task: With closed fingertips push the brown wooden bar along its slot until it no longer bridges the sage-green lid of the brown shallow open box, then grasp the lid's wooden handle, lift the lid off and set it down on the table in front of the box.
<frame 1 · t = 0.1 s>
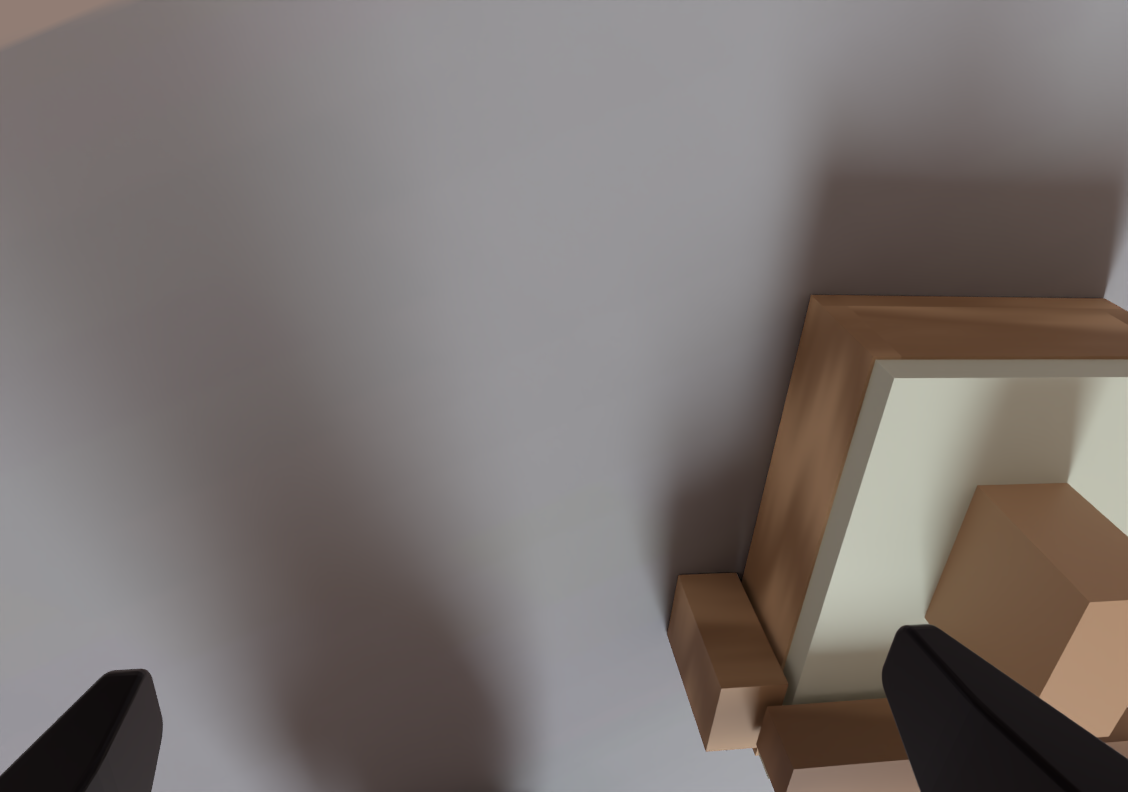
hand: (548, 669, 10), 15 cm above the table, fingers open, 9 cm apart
lid: (953, 580, 26), point 4 cm above the table, touching brown shallow open box
brown wooden bar: (952, 741, 26), point 6 cm above the table, slide at 0.0 cm
brown shallow open box: (892, 502, 29), on the table
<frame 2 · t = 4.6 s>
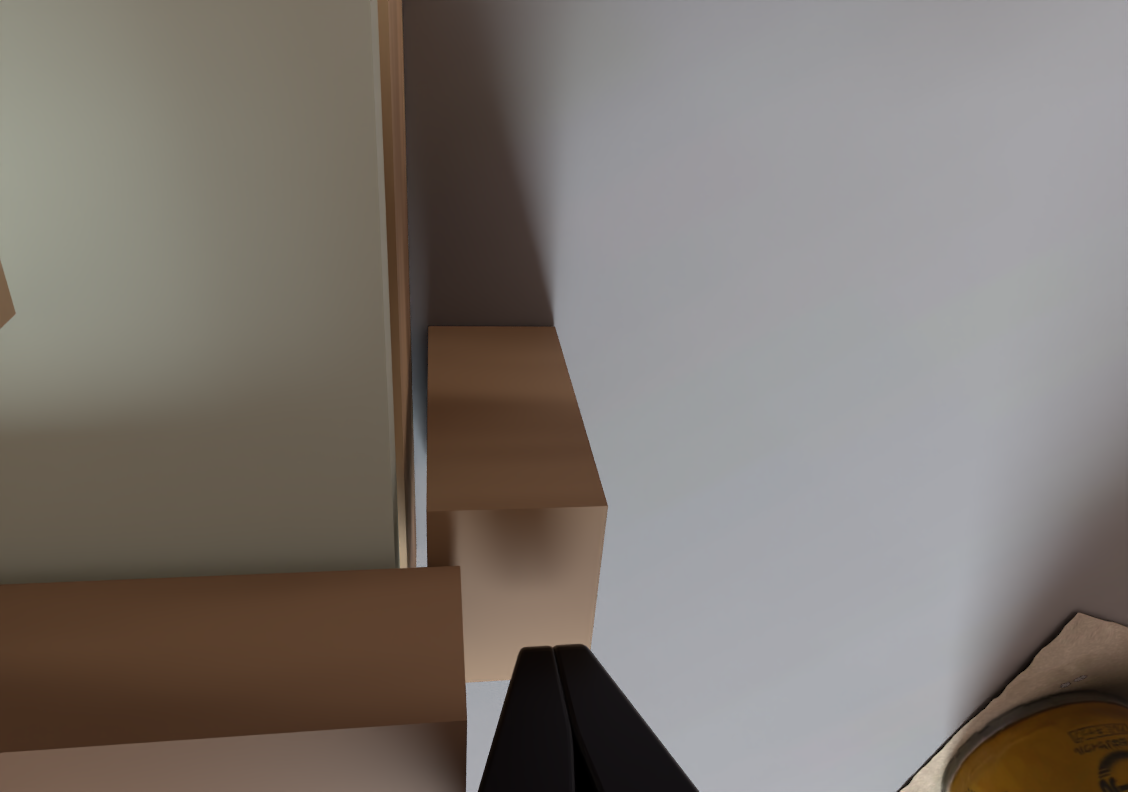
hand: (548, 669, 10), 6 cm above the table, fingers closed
condiment: (1056, 733, 24), on the table
brown shallow open box: (51, 135, 12), on the table
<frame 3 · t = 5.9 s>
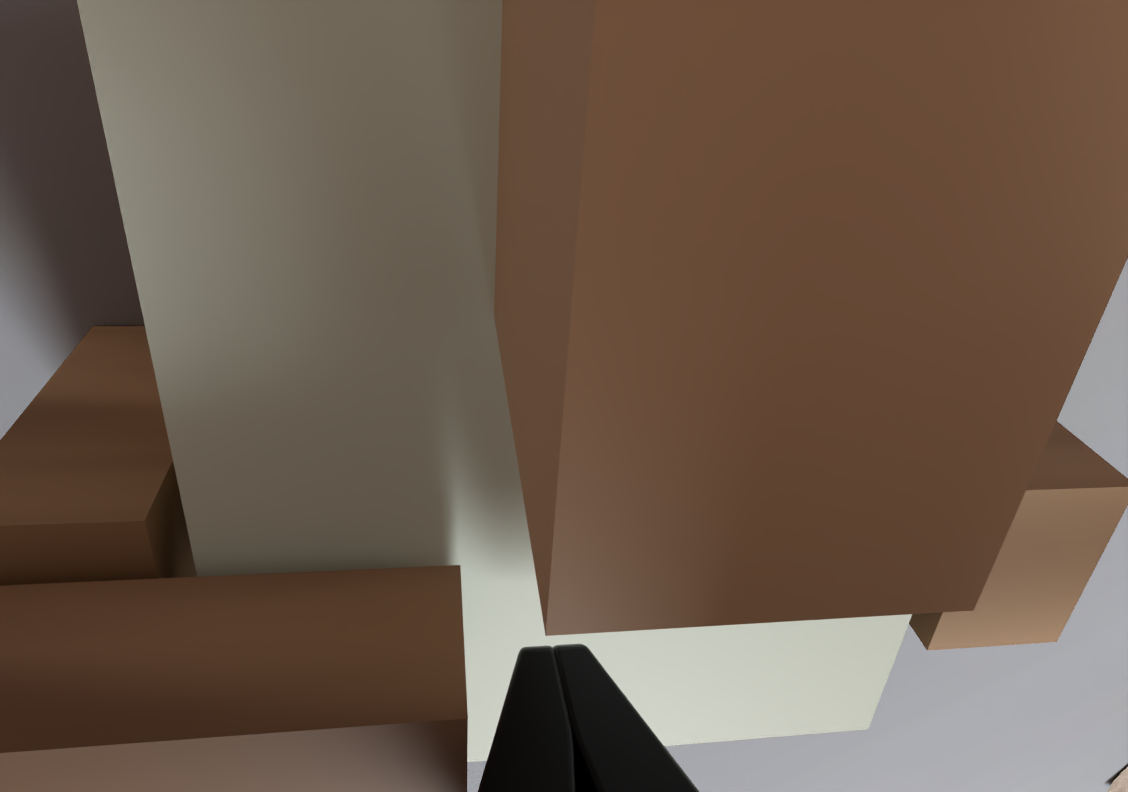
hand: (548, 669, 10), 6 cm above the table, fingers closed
lid: (609, 241, 10), point 4 cm above the table, touching brown shallow open box
brown shallow open box: (561, 154, 13), on the table
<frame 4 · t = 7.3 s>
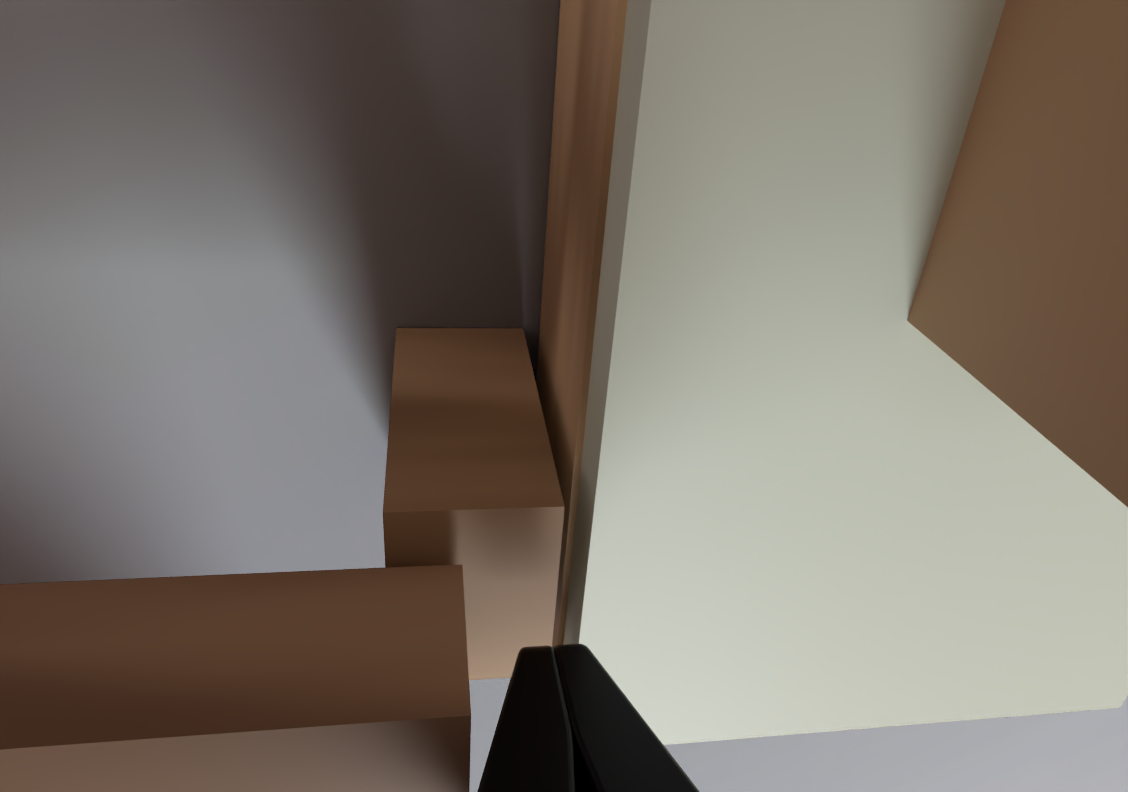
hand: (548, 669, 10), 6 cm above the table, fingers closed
lid: (979, 252, 10), point 4 cm above the table, touching brown shallow open box
brown shallow open box: (843, 168, 14), on the table
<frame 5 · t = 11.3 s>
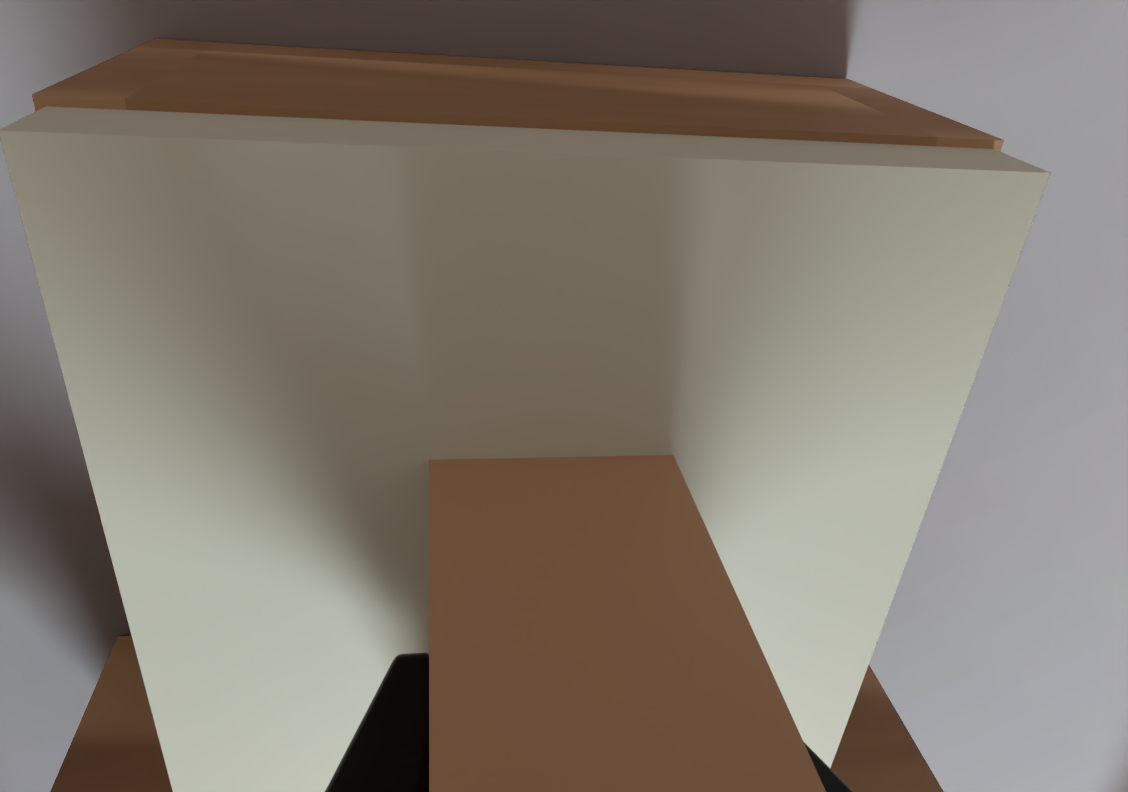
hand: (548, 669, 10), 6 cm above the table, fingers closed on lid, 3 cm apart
lid: (525, 666, 12), point 4 cm above the table, touching gripper, brown shallow open box
brown shallow open box: (504, 503, 16), on the table
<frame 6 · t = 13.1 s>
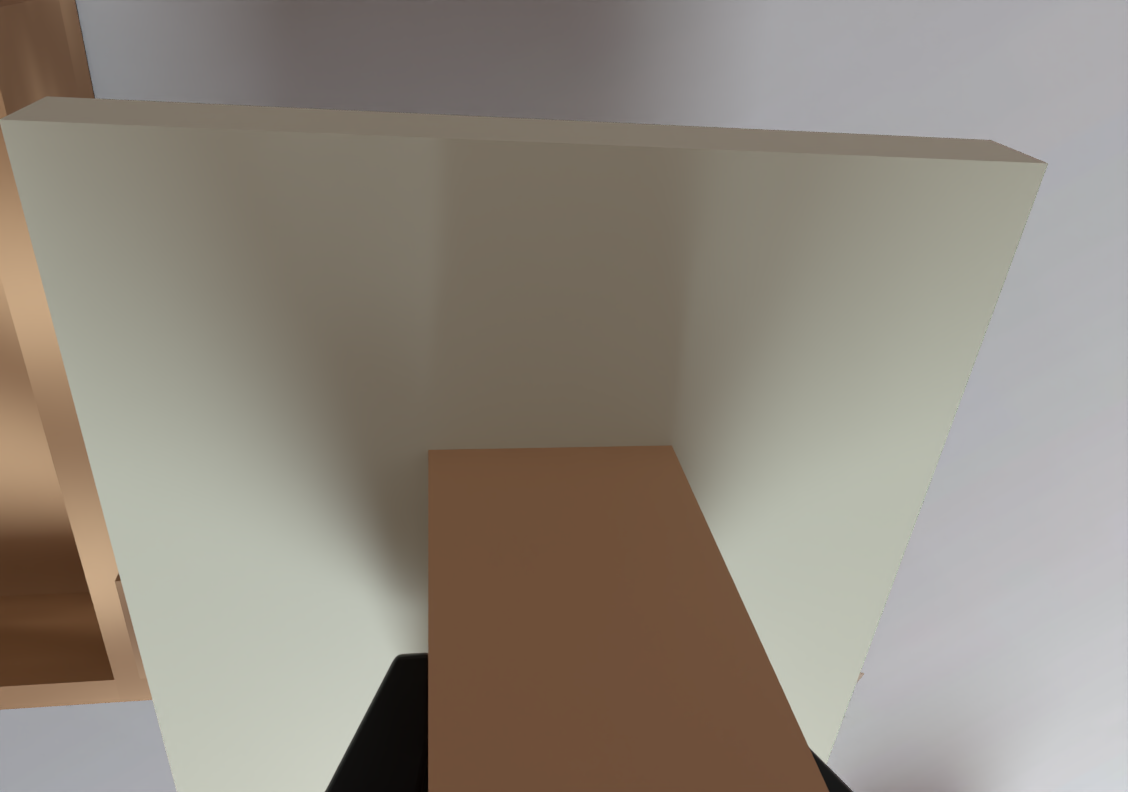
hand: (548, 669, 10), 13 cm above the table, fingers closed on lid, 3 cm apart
lid: (524, 656, 12), point 11 cm above the table, touching gripper
when the fingers open (4 cm above the table, at t = 15.0 s): lid drops 2 cm, on the table.
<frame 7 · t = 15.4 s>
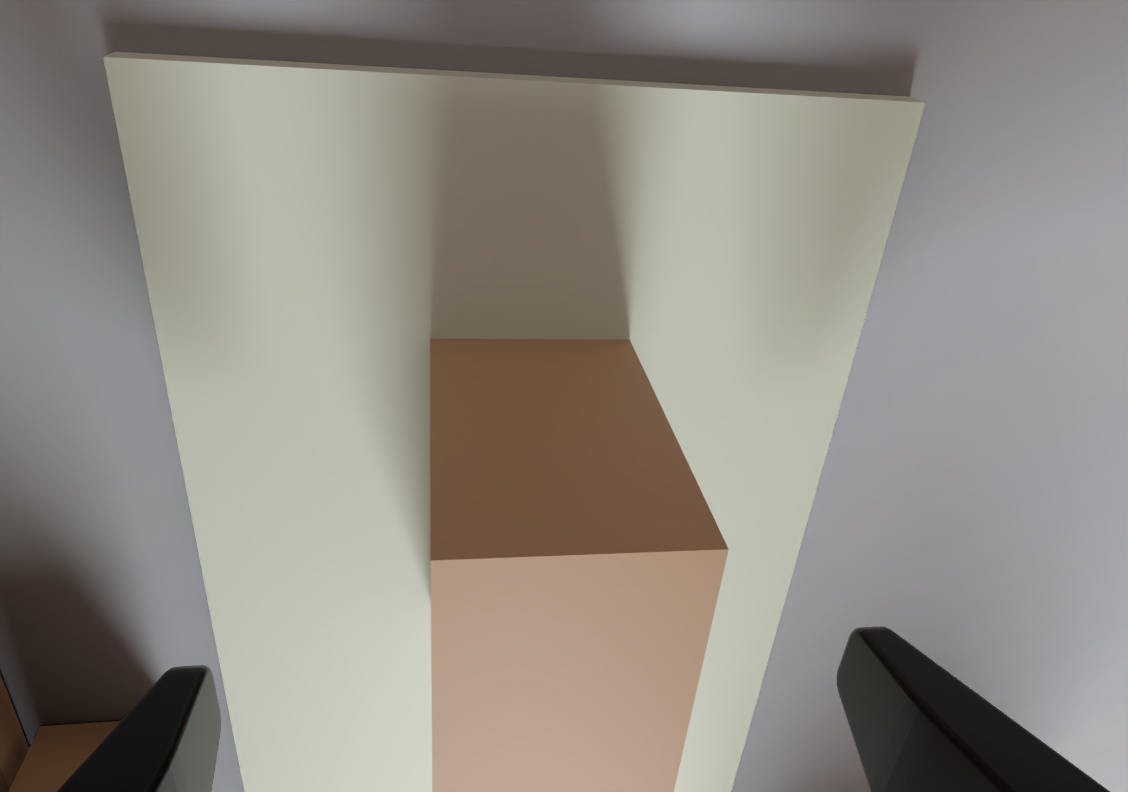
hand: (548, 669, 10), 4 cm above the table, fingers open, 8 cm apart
lid: (511, 542, 14), on the table
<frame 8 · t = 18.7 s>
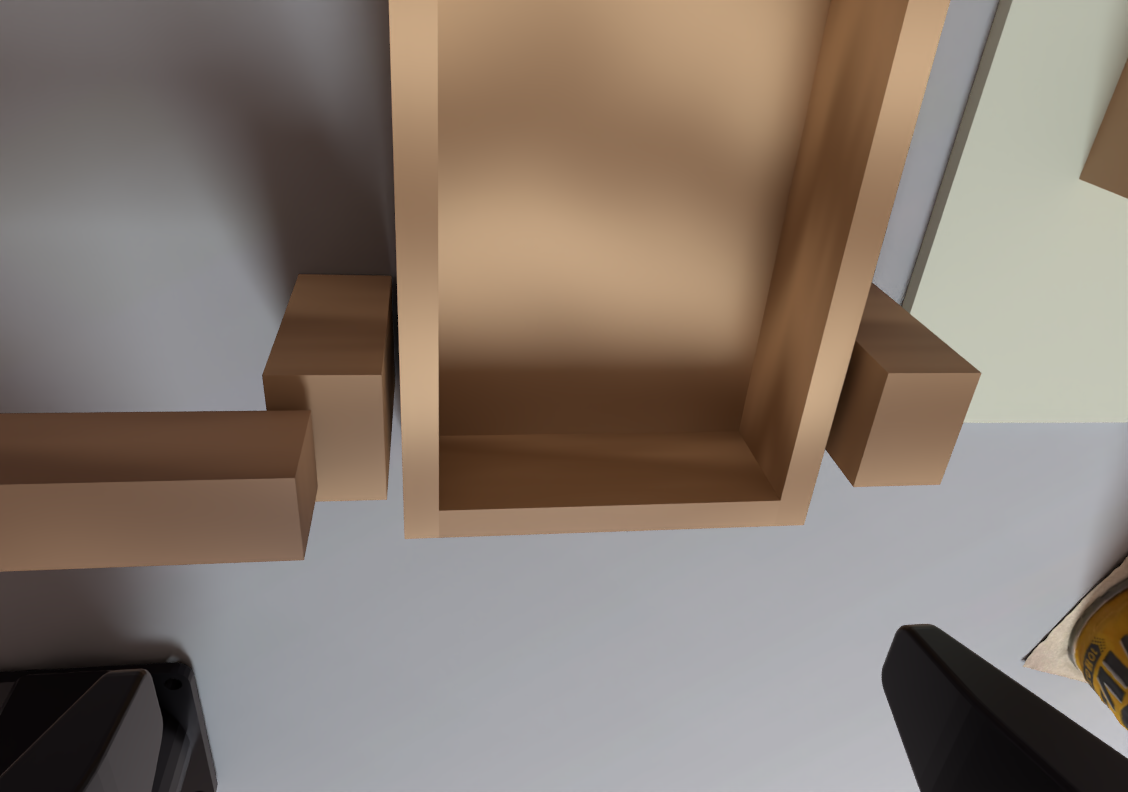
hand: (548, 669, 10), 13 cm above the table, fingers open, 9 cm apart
lid: (1106, 152, 22), on the table
brown shallow open box: (614, 161, 19), on the table
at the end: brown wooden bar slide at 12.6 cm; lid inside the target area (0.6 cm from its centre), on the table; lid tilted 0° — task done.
